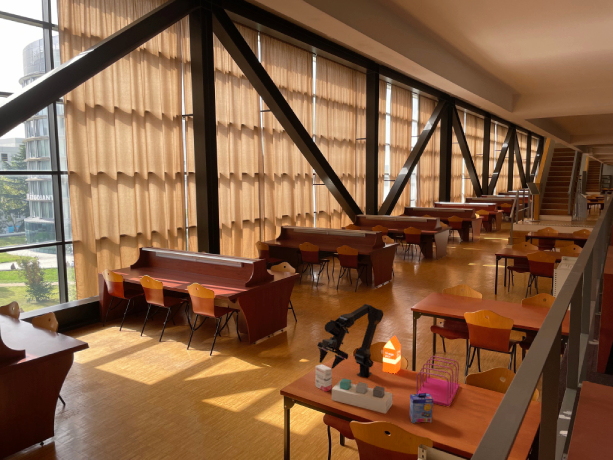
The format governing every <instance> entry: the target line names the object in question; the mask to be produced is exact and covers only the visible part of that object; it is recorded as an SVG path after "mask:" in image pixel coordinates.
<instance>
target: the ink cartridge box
mask: <svg viewBox="0 0 613 460" xmlns="http://www.w3.org/2000/svg"><path fill="white" fill-rule="evenodd" d="M409 397H410V398H409V419H410V422H411V423H412V424H416V423H415V422H430V423H432V422H433V410H434V409H433V408H434V406H433V405H434V403H433V398H432V397H431V395H430V394H426V393H419V394H417V393H410V396H409Z"/></svg>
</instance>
